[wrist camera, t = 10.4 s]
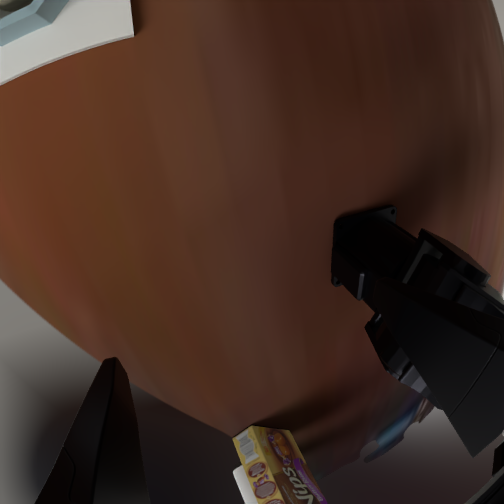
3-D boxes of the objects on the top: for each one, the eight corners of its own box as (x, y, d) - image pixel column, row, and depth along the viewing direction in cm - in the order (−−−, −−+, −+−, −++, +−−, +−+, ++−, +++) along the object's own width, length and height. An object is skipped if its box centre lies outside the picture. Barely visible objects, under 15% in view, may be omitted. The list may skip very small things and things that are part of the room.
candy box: (229, 439, 36) (269, 535, 24) (250, 423, 36) (297, 523, 23) (270, 443, 41) (310, 523, 29) (290, 429, 41) (334, 511, 28)
